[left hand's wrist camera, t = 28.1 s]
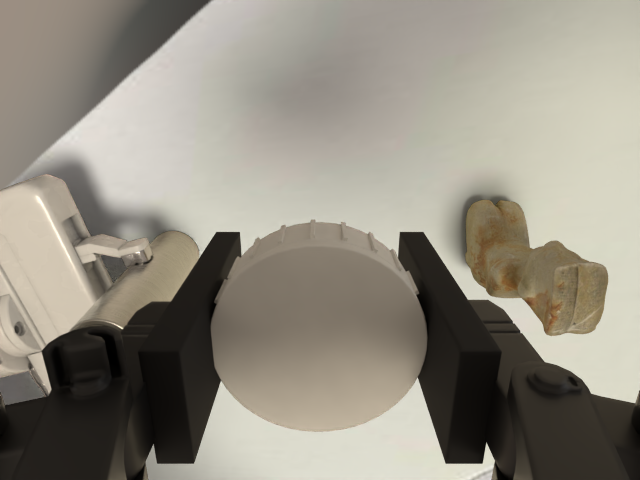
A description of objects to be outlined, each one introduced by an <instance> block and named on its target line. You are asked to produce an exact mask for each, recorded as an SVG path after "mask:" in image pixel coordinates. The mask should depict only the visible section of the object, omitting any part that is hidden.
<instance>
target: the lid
mask: <svg viewBox="0 0 640 480" xmlns="http://www.w3.org/2000/svg"><path fill="white" fill-rule="evenodd" d="M227 278H228V280H226V279H224V282H223V284H222V286H221V288H220V290H219V292H218V294H217V297H216V299H215V301H214V303H216V306H215V309H214V313H213V316H212V319H211V337H212V347H213V357H214V366H215V369H216V371H217V373H218V375H219V377H220V379H221V381H222V382H223V384H224V385H225V387H226V389H227V390H228V391H229V392H230V393H231V394H232V396H233V397H234V398H235V399H236V400H237V401H238V402H240V403H241V404H242V405H243V406H244V407H245V408H247V409H248V410H250V411H251V412H252V413H254V414H256V415H257V416H259V417H261V418H263V419H265V420H267V421H269V422H272V423H274V424H277V425H280V426H283V427H287V428H291V429H296V430H302V431H314V432H320V431H335V430H342V429H346V428H350V427H354V426H357V425H360V424H363V423H366V422H368V421H370V420H372V419H374V418H376V417H378V416H380V415H381V414H383V413H385V412H386V411H388V410H389V409H390V408H392V407H393V406H394V405H395V404H397V403H398V402H399V401H400V400H401V399H402V398H403V397H404V396H405V395H406V394H407V392H408V391H409V390H410V388H411V387H412V386H413V384H414V383H415V381H416V379H417V377H418V375H419V374H420V371H421V369H422V366H423V363H424V360H425V356H426V351H427V340H428V334H427V324H426V320H425V315H424V312H423V310H422V307H421V305H420V303H419V300H418V298H417V296H416V295H417V294H419V292H418V289H417V287H416V285H415V283H414V281H413V279H412V276H411V274H410V272H409V271H407V272H406V271H405V269H404V268H403V266H402V265H401V263H400V261H399V259H398V257H397V255H396V252H395V251H394V250H393V249H392V250H391V251H390V250H389V249H388V248H387V247H386V246H384V245H383V244H382V243H381V242H379V241H378V240H376V239H375V238H374V236H373V234H372V233H370V232H369V233H368V234H366V233H364V232H362V231H360V230H357V229H354V228H351V227H348V226H346V224H345V223H344V222H341V225H339V224H334V223H323V222H318V223H315V220H311V223H304V224H298V225H293V226H289V227H286V225H283V226H281V229H280V230H278V231H276V232H273V233H271V234H269V235H267V236H266V237H264V238H262V239H261V240H260V238H259V237H258V238H257V239H256V240H255V242H254V245H253V246H252V247H250V248H249V249H248V250H247V251H246V252H245V253H244V254H243V256H242V257H241V258H240V257H237V258H236V260H235V262H234V264H233V266H232V268H231V270H230V273H229V275H228V277H227Z"/></svg>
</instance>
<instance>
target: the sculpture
mask: <svg viewBox="0 0 640 480" xmlns="http://www.w3.org/2000/svg"><path fill="white" fill-rule="evenodd" d="M466 242H467V252H466V254H465V258H466V262H467V264H468V265H469V267H470V268H471V272H472V275H473V278H474V279H475V280H476V281H477V283H478V284H479V285H481V286H483V287H484V288H486V291H487V293H488V294H489V295H490V296H494V297H499V298H522V299H523V300H524V301H525V302H526V303H527V304H528V305H529V306H530V307H531V309H532V310H533V311H534V313H535V314H536V315H537V317H538V318H539V319H540V321H541V322H542V324H543V327H544V331H545V333H546V334H547V335H550V336H556V335H561V334H564V333H574V334H586V333H590V332H592V331H593V330H595V328H596V325H597V324H598V323H599V321H600V319H601V316H602V313H603V310H604V302H605V295H606V290H607V285H608V273H607V270H606V268H605V267H604V266H603V265H601V264H598V263H595V262H589V261H587V260H584V259H582V258H581V257H580V256H579V255H577V254H576V253H574V252H572V251H570V250H568V249H566V248H565V247H564V245H563V244H562V243H560V242H559V241H550V242H548V243H547V244H545V245H544V246H542V247H538V248H535V249H532V248H530V245H529V237H528V230H527V225H526V220H525V216H524V213H523V210H522V208H521V207H520V206H519V205H518V204H517V203H515V202H510V201H503V200H500V201H498V202H497V204H496V205H494V204H493V203H492V202H491V201H489V200H480V201H477V202H475V203H473V204H472V205H471V206H470V208H469V210H468V212H467V216H466Z"/></svg>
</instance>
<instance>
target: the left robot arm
mask: <svg viewBox="0 0 640 480" xmlns="http://www.w3.org/2000/svg"><path fill="white" fill-rule="evenodd" d="M237 257H240V258H241V242H240V232H216V234H215V235H214V237H213V238H212V240H211V241H210V243H209V244H208V246H207V247H206V249H205V250H204V252H203V253H202V255H201V256H200V258H199V259H198V261H197V262H196V264H195V266H194V267H193V269H192V270H191V272H190V273H189V275H188V276H187V278H186V279H185V281H184V282H183V284H182V285H181V287H180V288H179V290H178V291H177V293H176V294H175V296H174V297H173V299H172V300H171V301H152V302H150V303H148V304H147V305H145V306H144V307H142V308H141V309H139V310H138V311H136V312H135V314H134V315H133V316H132V317H131V319H130V320H129V321H128V323H127V325H125V326H124V328H123V329H122V330H121V332H119V331H118V330H117V329H115V328H112V327H107V326H89V327H85V328H80V329H75V330H73V331H70V332H68V333H65V334H63V335H60V336H59V337H57V338H55V339H54V340H52V341H51V342H49V343H48V344H47V345H46V346H45V347H44V349H43V350H42V351H41V352H42V356H43V359H44V363H45V367H46V371H47V374H48V378H49V382H50V386H51V391H50V394H49V396H46V397H42V398H39V399H34V400H29V401H24V402H19V403H14V404H10V405H5V404H4V401H3V398H2V395H1V392H0V480H148V475H147V469H146V463H145V461H146V459H147V457H148V455H149V452H150V450H151V448H152V446H153V443H154V448H155V454H156V459H157V464H194V462H195V459H196V456H197V453H198V450H199V446H200V443H201V440H202V437H203V434H204V431H205V428H206V425H207V422H208V419H209V416H210V412H211V409H212V406H213V403H214V400H215V397H216V394H217V391H218V388H219V385H220V382H221V379H220V377H219V375H218V373H217V371H216V369H215V366H214V357H213V347H212V337H211V319H212V316H213V313H214V309H215V306H216V303H214V301H215V299H216V297H217V294H218V292H219V290H220V288H221V286H222V284H223V282H224V279H226V280H228V278H227V277H228V275H229V273H230V270H231V268H232V266H233V264H234V262H235V260H236V258H237ZM398 259H399V261H400V263H401V265H402V266H403V268H404V269H405V271H406V272H407V271H409V272H410V274H411V276H412V279H413V281H414V283H415V285H416V287H417V289H418V292H419V294H417V295H416V296H417V298H418V300H419V303H420V305H421V307H422V310H423V312H424V315H425V320H426V324H427V334H428V340H427V351H426V356H425V360H424V363H423V366H422V369H421V371H420V374H419V375H418V379H419V382H420V385H421V389H422V392H423V395H424V398H425V401H426V404H427V407H428V410H429V413H430V416H431V419H432V423H433V426H434V429H435V432H436V435H437V438H438V441H439V444H440V447H441V450H442V453H443V457H444V460H445V463H446V464H483V458H484V452H485V446H486V442H487V444H488V446H489V449H490V451H491V453H492V455H493V457H494V460H495V463H494V469H493V474H492V480H640V391H639V394H638V397H637V400H636V403H630V402H625V401H620V400H616V399H611V398H606V397H601V396H597V395H594V394H591V393H590V391H589V389H588V387H587V386H586V385H585V383H584V382H583V381H582V379H580V378H579V377H577V376H576V375H575V374H573V373H572V372H571V371H568V370H566V369H564V368H562V367H559V366H557V365H554V364H550V363H546V362H544V361H543V359H542V358H541V357H540V356H539V354H538V353H537V352H536V351H535V349H534V348H533V347H532V345H531V344H530V343H529V342H528V340H527V339H526V338H525V336H524V335H523V334H522V333H520V330H519V329H518V328H517V326H516V325H515V324H513V321H512V320H511V319H510V317H509V316H508V315H507V313H506V312H505V311H504V310H503V309H502V308H500V307H498V306H497V305H495V304H494V303H492V302H491V301H489V300H468V299H467V298H466V296H465V295H464V293H463V292H462V290H461V289H460V287H459V286H458V284H457V283H456V281H455V280H454V278H453V277H452V275H451V274H450V272H449V270H448V269H447V267H446V266H445V264H444V263H443V261H442V260H441V258H440V257H439V255H438V254H437V252H436V251H435V249H434V248H433V246H432V245H431V243H430V242H429V240H428V239H427V237H426V236H425V234H424V232H400V238H399V253H398Z"/></svg>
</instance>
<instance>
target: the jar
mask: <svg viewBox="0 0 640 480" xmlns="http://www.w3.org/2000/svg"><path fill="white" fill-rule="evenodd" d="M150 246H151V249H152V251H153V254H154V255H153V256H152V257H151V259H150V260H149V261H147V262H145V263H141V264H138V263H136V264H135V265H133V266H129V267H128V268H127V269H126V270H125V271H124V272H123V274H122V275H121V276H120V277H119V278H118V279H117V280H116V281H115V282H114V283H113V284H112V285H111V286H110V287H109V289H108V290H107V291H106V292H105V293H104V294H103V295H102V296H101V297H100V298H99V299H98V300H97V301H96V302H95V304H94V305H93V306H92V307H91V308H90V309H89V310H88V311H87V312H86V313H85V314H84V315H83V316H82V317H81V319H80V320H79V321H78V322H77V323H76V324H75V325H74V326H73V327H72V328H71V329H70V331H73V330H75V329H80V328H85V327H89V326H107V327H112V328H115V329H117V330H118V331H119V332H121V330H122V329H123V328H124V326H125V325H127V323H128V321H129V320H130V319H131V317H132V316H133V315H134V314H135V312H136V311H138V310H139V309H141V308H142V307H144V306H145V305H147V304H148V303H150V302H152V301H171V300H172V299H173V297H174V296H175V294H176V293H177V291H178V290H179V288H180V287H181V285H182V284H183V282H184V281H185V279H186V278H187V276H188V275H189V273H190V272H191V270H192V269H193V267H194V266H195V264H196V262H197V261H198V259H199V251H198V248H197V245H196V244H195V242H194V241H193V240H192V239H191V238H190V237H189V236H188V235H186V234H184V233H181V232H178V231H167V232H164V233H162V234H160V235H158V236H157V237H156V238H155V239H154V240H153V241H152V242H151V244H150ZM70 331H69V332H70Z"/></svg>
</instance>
